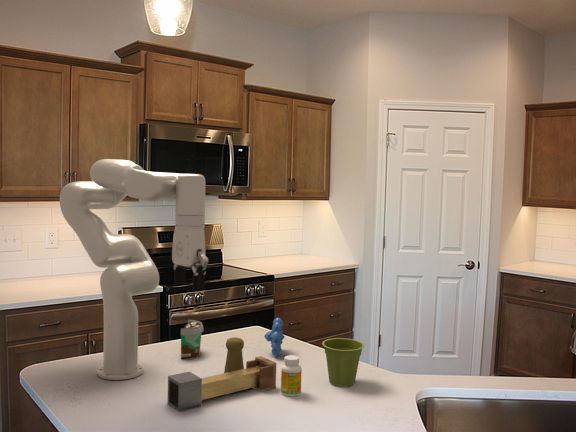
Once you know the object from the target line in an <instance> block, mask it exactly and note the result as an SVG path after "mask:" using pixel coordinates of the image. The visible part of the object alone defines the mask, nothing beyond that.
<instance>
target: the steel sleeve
mask: <svg viewBox="0 0 576 432" xmlns="http://www.w3.org/2000/svg"><path fill="white" fill-rule="evenodd" d="M202 378H203V377H200V376H198V375H196V374H195V373H193V372H191V371H185V372H180V373H176V374H170V375H167V404H168V405H169V406H171V407H172V408H174V409H175V410H177V411H178V412H180V413H181V412H184V411H188V410H191V409H196V408H199V407H202V400H201V395H202Z"/></svg>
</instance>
